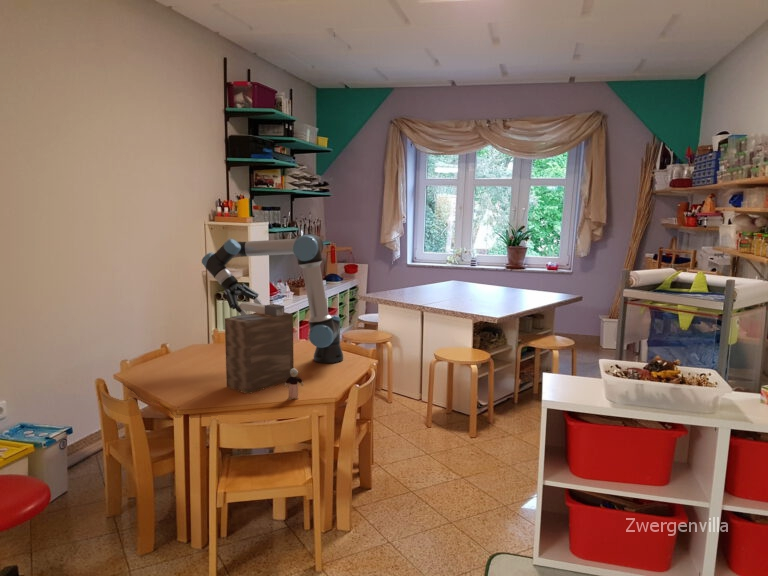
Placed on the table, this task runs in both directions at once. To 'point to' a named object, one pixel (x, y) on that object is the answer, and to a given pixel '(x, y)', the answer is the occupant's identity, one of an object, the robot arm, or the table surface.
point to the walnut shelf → (258, 350)
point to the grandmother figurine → (293, 384)
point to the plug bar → (263, 308)
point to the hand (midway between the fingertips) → (255, 312)
